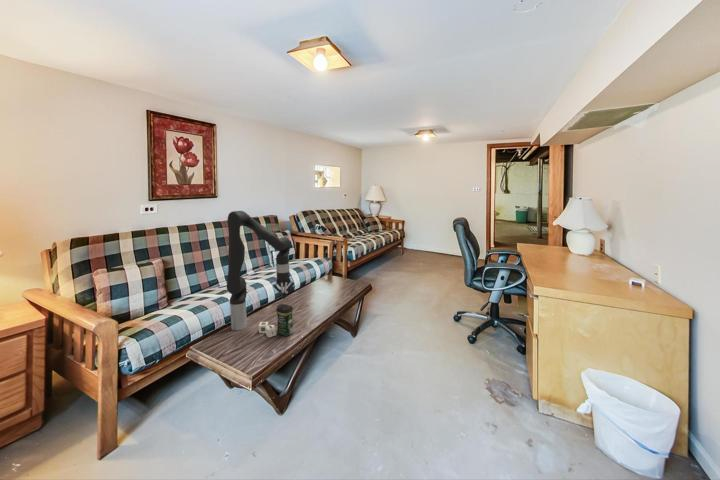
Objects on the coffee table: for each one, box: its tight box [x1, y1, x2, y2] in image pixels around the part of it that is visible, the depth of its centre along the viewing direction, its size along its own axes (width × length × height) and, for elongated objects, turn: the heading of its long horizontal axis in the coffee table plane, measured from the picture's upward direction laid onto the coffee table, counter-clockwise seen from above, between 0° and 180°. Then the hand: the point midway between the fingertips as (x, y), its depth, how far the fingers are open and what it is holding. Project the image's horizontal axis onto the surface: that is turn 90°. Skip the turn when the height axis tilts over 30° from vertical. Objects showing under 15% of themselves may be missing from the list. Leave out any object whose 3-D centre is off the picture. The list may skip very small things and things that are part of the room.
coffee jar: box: [276, 303, 294, 337], centre depth 179 cm, size 10×8×19 cm
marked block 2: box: [265, 324, 277, 338], centre depth 178 cm, size 5×6×5 cm
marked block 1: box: [258, 321, 270, 334], centre depth 183 cm, size 5×5×5 cm
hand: (284, 298), depth 177 cm, fingers closed
